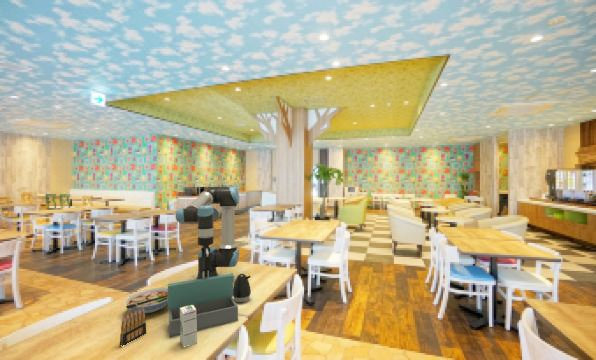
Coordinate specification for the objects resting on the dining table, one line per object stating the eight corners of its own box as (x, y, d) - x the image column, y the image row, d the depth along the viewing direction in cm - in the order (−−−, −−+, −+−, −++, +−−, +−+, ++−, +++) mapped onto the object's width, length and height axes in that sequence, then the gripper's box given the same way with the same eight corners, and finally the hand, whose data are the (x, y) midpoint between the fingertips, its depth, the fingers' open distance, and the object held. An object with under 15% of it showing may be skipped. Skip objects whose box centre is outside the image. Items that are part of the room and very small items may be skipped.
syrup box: (197, 343, 113) (197, 308, 113) (182, 348, 109) (182, 312, 109) (193, 336, 117) (193, 303, 117) (179, 341, 114) (179, 307, 114)
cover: (167, 310, 127) (167, 308, 129) (232, 296, 142) (231, 294, 143) (167, 286, 125) (167, 284, 127) (233, 274, 139) (233, 273, 141)
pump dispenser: (247, 305, 147) (246, 277, 147) (229, 303, 149) (229, 276, 149) (253, 297, 157) (253, 271, 157) (237, 296, 159) (237, 270, 159)
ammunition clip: (143, 332, 121) (143, 306, 121) (146, 333, 120) (146, 306, 120) (119, 346, 111) (119, 317, 111) (122, 347, 110) (122, 318, 110)
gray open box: (169, 324, 127) (168, 310, 127) (231, 310, 141) (231, 297, 141) (170, 337, 117) (169, 321, 117) (237, 320, 131) (237, 306, 131)
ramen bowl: (168, 296, 159) (168, 282, 159) (183, 309, 143) (183, 294, 143) (118, 310, 142) (118, 295, 142) (129, 327, 125) (129, 310, 125)
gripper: (196, 235, 140) (196, 280, 139) (199, 239, 128) (199, 288, 128) (211, 233, 143) (211, 277, 143) (215, 238, 132) (215, 286, 131)
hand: (205, 283), depth 135 cm, fingers closed
